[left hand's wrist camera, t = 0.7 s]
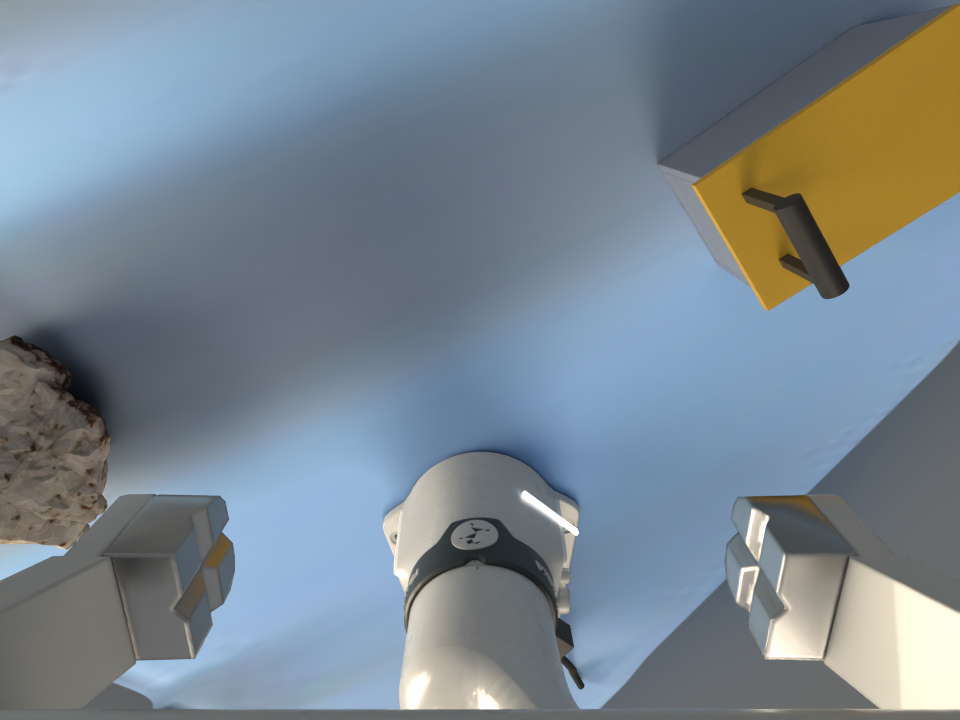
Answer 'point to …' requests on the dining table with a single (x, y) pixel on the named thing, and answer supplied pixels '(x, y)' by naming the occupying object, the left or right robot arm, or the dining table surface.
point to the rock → (47, 451)
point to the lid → (844, 168)
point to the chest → (776, 116)
